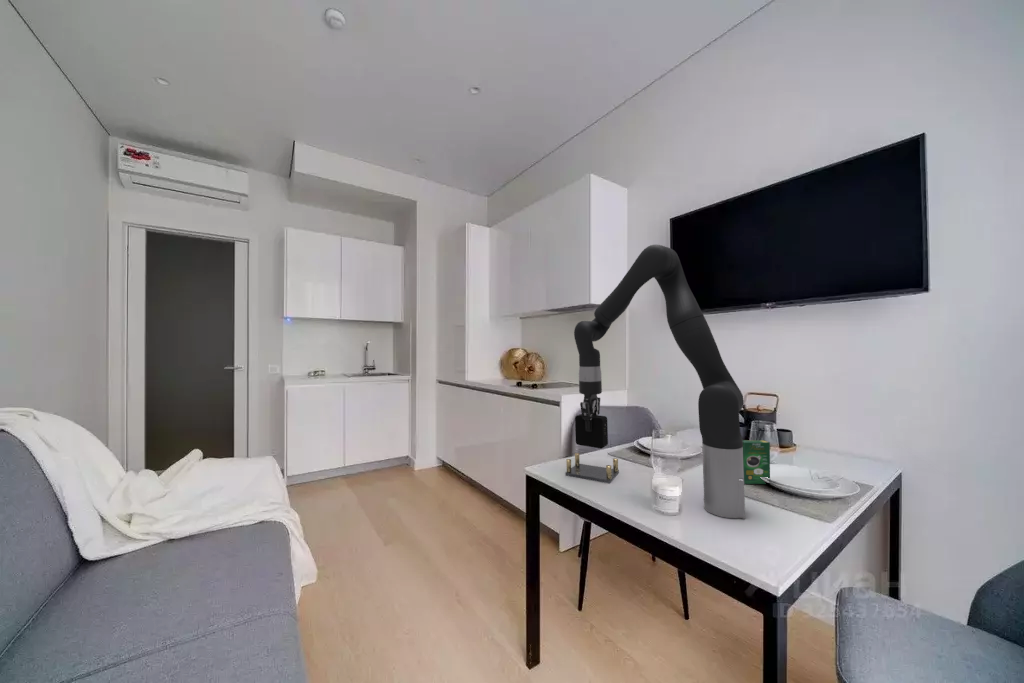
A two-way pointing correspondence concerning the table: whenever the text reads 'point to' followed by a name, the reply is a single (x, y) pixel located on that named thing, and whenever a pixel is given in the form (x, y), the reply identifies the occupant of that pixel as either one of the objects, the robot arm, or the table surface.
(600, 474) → the chassis
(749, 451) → the coffee box
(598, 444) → the electronic device
